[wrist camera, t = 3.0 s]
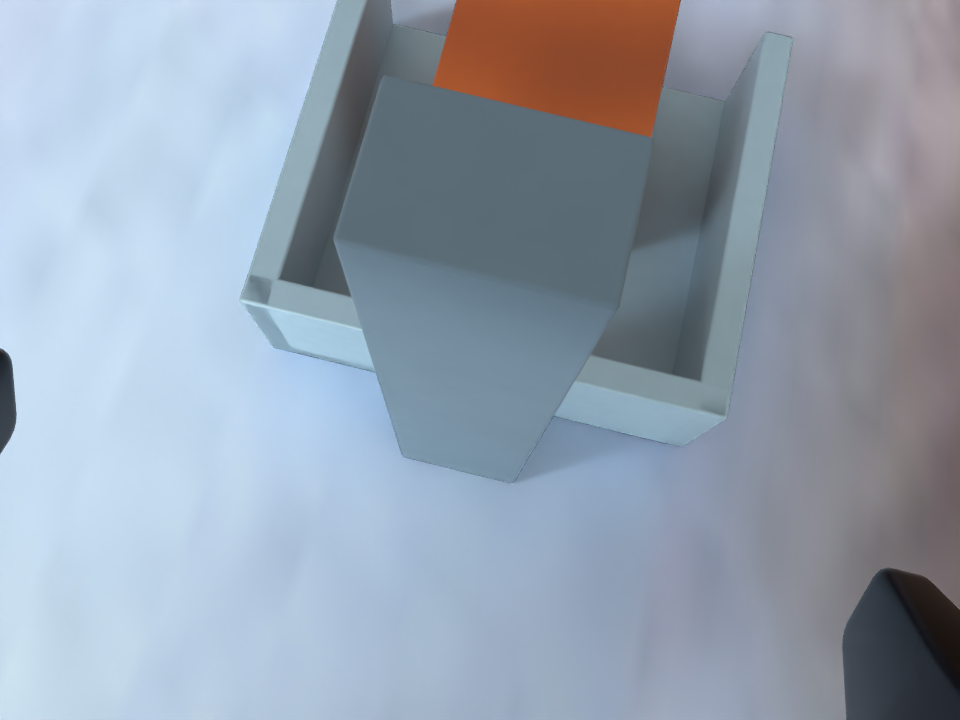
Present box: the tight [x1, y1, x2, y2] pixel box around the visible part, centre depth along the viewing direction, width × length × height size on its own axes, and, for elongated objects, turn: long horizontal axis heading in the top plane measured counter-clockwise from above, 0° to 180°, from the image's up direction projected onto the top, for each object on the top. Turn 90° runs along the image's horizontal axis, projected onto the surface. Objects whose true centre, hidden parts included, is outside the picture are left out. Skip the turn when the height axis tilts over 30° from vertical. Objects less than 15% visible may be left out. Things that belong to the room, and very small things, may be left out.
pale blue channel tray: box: [240, 0, 793, 483], centre depth 14 cm, size 10×9×12 cm
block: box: [432, 0, 681, 137], centre depth 18 cm, size 4×4×4 cm
